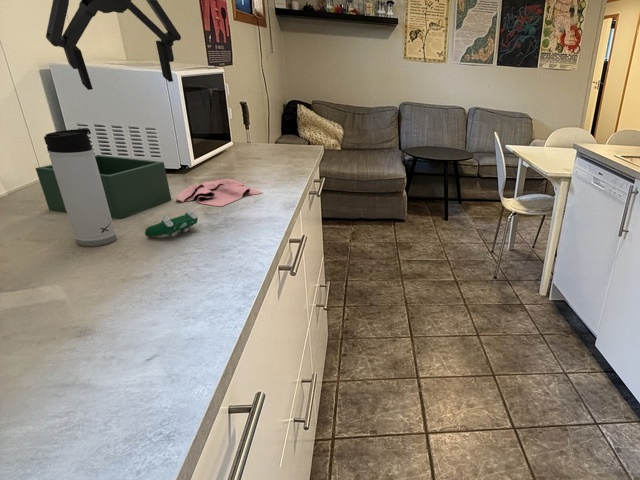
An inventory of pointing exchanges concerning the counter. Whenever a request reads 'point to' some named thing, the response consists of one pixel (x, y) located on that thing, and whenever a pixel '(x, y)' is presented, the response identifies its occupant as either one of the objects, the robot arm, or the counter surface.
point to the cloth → (216, 192)
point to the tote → (117, 185)
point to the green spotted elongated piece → (172, 225)
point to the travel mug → (81, 186)
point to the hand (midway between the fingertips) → (129, 82)
